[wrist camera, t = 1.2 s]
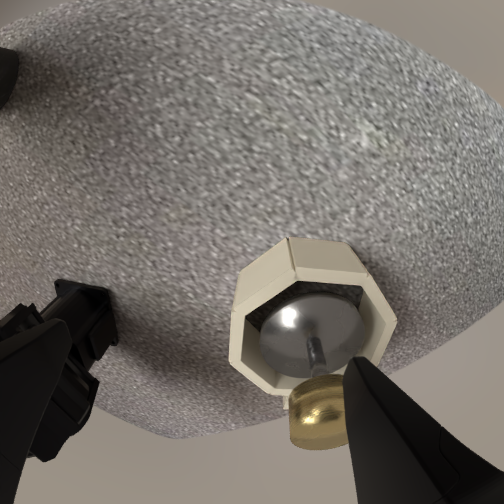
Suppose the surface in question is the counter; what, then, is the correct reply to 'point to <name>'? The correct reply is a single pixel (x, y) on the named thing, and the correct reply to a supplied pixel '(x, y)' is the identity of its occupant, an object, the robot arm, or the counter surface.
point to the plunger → (314, 362)
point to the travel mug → (7, 73)
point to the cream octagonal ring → (282, 276)
